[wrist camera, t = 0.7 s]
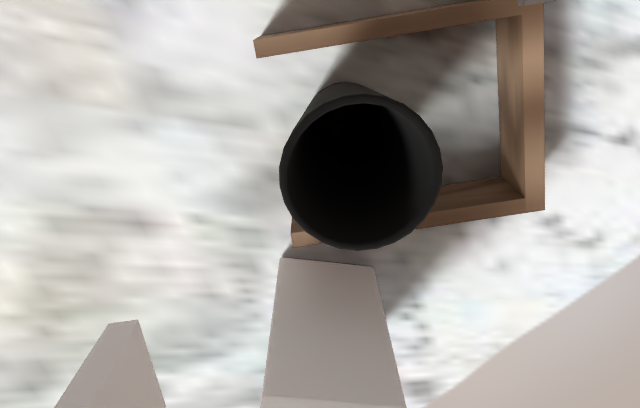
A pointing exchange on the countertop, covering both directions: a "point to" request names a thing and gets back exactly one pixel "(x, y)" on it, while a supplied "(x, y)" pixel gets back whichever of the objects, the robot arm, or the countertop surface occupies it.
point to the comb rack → (513, 90)
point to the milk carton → (329, 340)
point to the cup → (359, 169)
